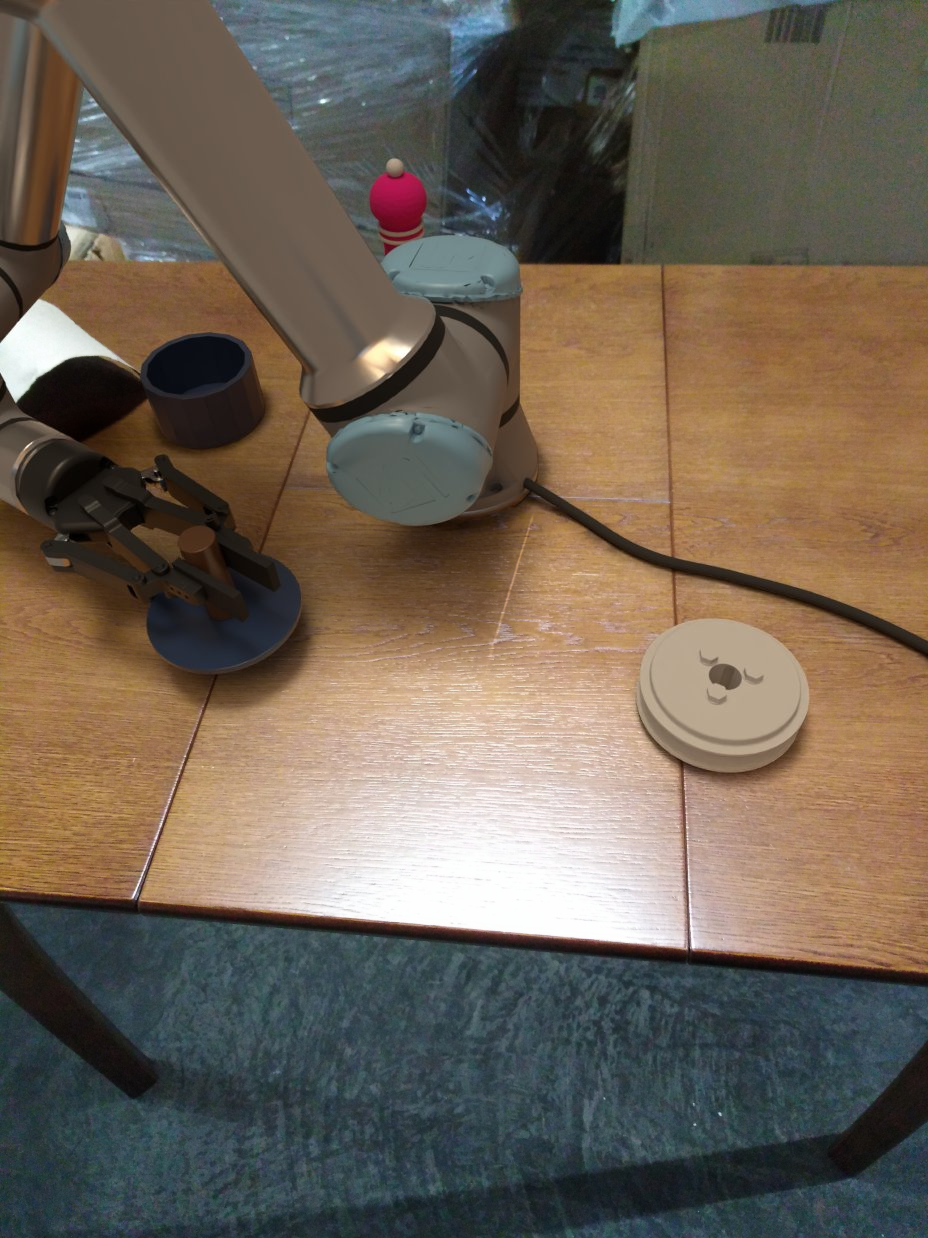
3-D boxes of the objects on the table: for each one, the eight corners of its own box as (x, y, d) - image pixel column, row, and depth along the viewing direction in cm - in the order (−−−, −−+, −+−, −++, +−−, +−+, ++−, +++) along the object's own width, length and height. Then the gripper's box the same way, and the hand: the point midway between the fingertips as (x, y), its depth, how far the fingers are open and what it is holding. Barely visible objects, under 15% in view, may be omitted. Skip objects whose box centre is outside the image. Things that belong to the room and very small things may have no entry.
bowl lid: (325, 573, 76) (305, 493, 69) (268, 692, 69) (239, 616, 62) (192, 550, 79) (159, 471, 72) (122, 663, 71) (78, 587, 64)
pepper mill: (371, 344, 104) (345, 170, 89) (396, 311, 109) (377, 139, 93) (427, 356, 103) (411, 179, 87) (451, 321, 107) (440, 147, 91)
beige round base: (670, 623, 77) (679, 585, 73) (818, 682, 72) (835, 644, 68) (608, 735, 70) (614, 699, 66) (767, 806, 65) (783, 772, 62)
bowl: (280, 389, 100) (268, 338, 95) (239, 455, 93) (223, 404, 88) (188, 377, 102) (171, 326, 97) (140, 441, 95) (120, 390, 90)
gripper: (140, 460, 83) (335, 560, 73) (-2, 568, 75) (195, 695, 65) (111, 393, 77) (318, 492, 67) (-46, 503, 69) (163, 631, 60)
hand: (257, 591), depth 66 cm, fingers closed on bowl lid, 3 cm apart
